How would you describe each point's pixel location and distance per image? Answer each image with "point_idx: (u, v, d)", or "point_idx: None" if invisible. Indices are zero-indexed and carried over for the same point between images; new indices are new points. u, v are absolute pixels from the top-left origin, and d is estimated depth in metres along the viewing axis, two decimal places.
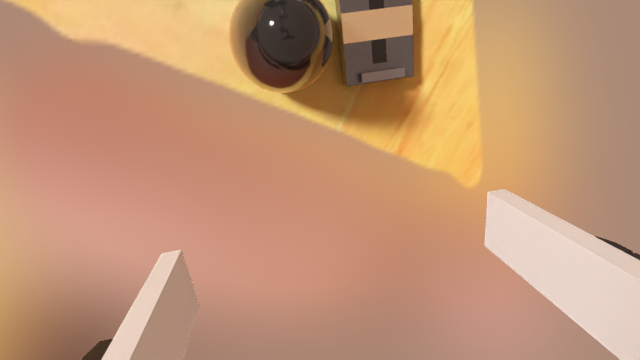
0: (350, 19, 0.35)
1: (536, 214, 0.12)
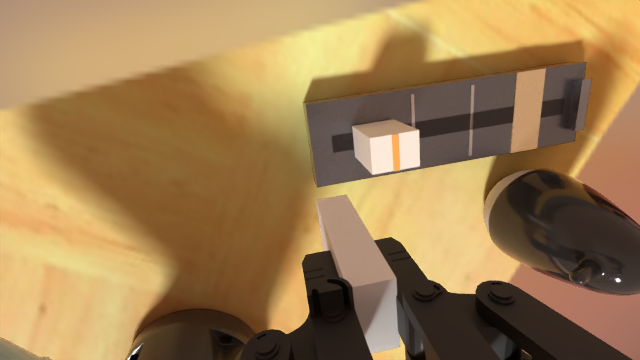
0: (517, 142, 0.33)
1: (348, 217, 0.13)
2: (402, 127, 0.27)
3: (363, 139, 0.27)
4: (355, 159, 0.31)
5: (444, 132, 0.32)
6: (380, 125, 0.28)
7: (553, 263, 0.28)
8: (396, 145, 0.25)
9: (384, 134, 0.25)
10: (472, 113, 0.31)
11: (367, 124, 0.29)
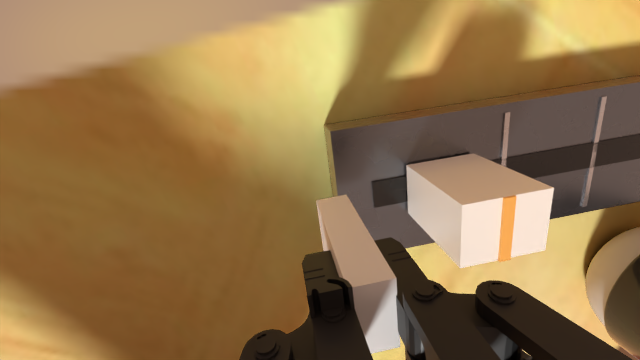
0: None
1: (348, 218, 0.13)
2: (509, 176, 0.15)
3: (438, 198, 0.15)
4: (407, 216, 0.19)
5: (549, 172, 0.20)
6: (460, 167, 0.16)
7: None
8: (509, 217, 0.13)
9: (486, 195, 0.13)
10: (597, 142, 0.19)
11: (433, 163, 0.18)
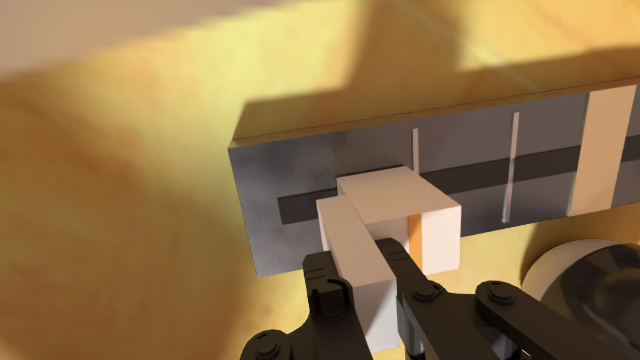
0: (581, 200, 0.21)
1: (348, 218, 0.13)
2: (425, 192, 0.14)
3: None
4: (320, 233, 0.19)
5: (466, 188, 0.19)
6: (384, 181, 0.16)
7: None
8: (416, 235, 0.13)
9: (393, 212, 0.13)
10: (514, 158, 0.19)
11: (362, 176, 0.17)
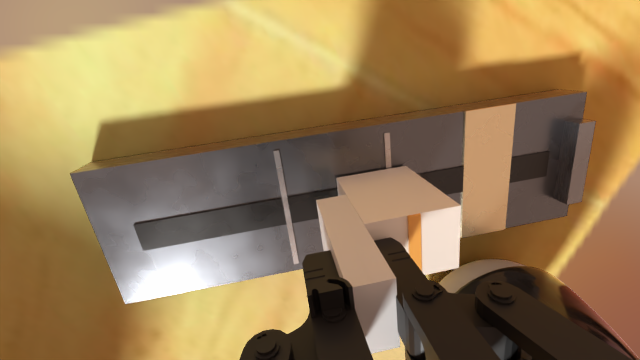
0: (472, 221, 0.20)
1: (348, 218, 0.13)
2: (425, 192, 0.14)
3: None
4: (187, 258, 0.18)
5: None
6: (384, 181, 0.16)
7: None
8: (415, 235, 0.13)
9: (393, 212, 0.13)
10: None
11: (362, 176, 0.17)
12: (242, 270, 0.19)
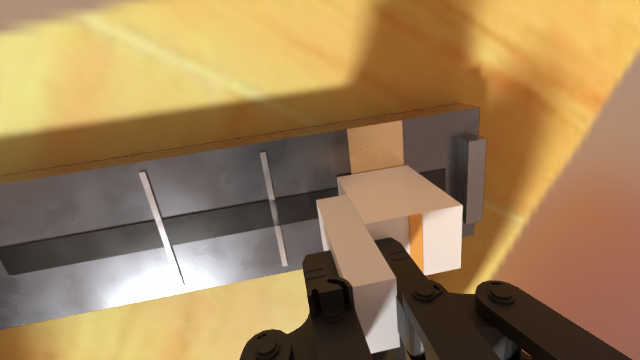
0: None
1: (348, 218, 0.13)
2: (426, 192, 0.14)
3: None
4: (60, 283, 0.17)
5: (224, 233, 0.18)
6: (385, 181, 0.16)
7: None
8: (417, 235, 0.13)
9: (394, 212, 0.13)
10: (273, 199, 0.17)
11: (362, 175, 0.17)
12: (123, 294, 0.18)
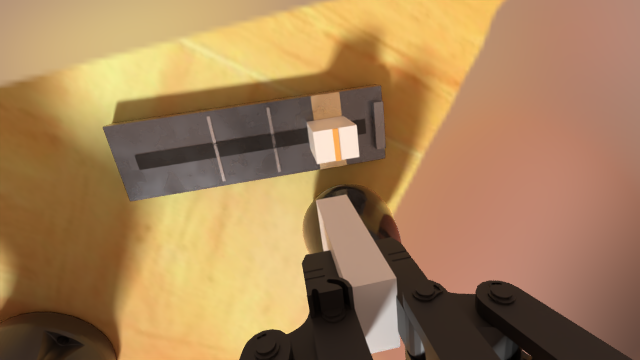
0: None
1: (348, 218, 0.13)
2: (345, 123, 0.30)
3: (311, 133, 0.30)
4: (163, 175, 0.34)
5: (247, 151, 0.34)
6: (329, 121, 0.32)
7: None
8: (336, 138, 0.29)
9: (326, 128, 0.29)
10: (273, 133, 0.34)
11: (319, 120, 0.33)
12: (194, 184, 0.34)
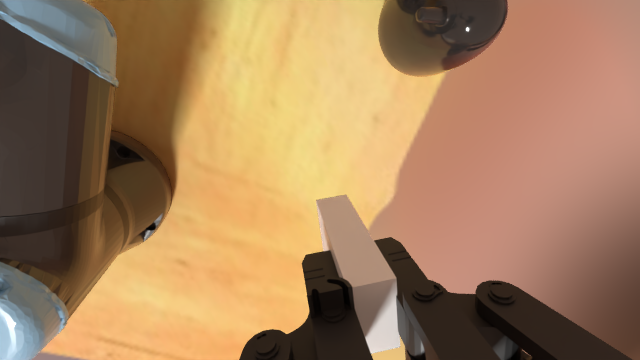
0: None
1: (348, 218, 0.13)
2: None
3: None
4: None
5: None
6: None
7: (417, 32, 0.29)
8: None
9: None
10: None
11: None
12: None
